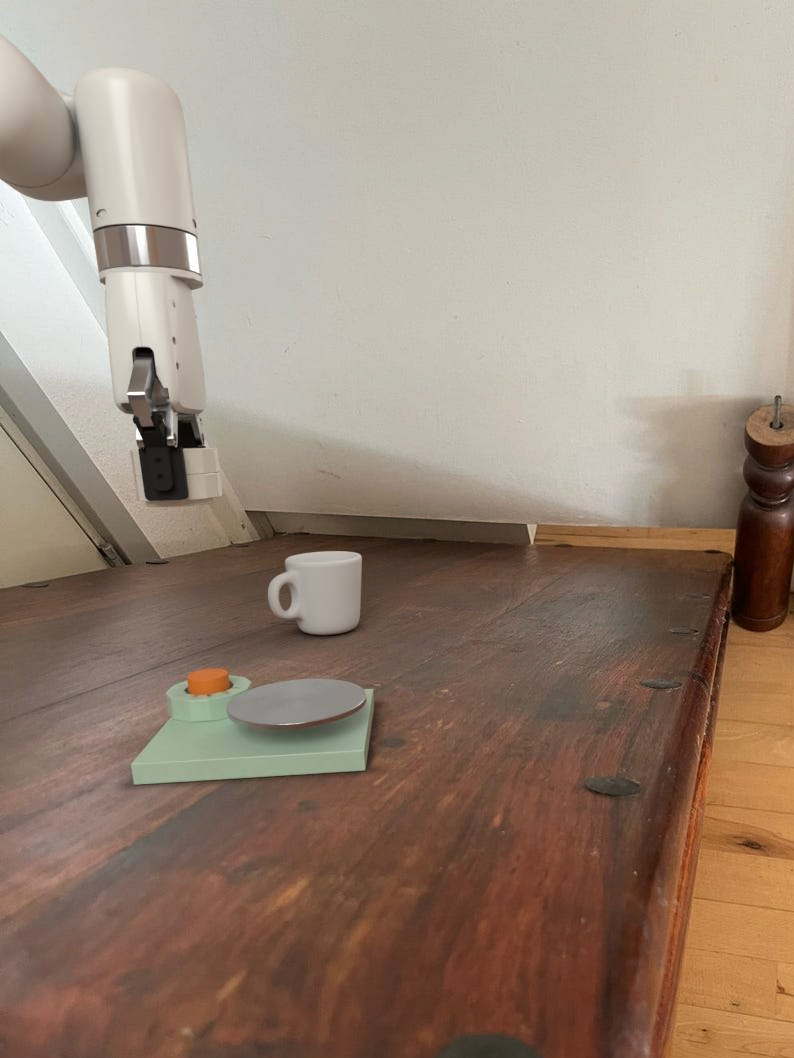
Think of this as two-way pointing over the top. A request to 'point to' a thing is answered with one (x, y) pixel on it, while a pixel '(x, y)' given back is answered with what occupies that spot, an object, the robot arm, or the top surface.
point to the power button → (208, 681)
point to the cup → (320, 591)
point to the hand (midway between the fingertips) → (180, 494)
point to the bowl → (188, 478)
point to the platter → (296, 704)
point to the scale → (246, 742)
